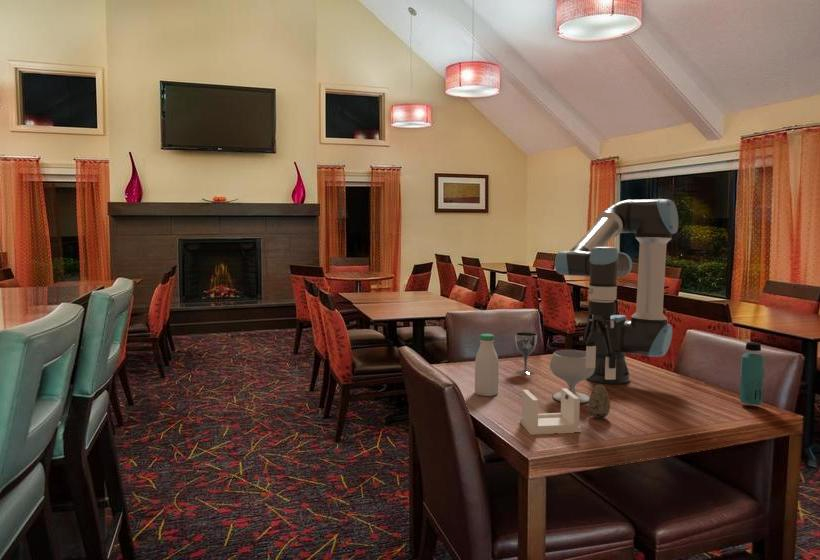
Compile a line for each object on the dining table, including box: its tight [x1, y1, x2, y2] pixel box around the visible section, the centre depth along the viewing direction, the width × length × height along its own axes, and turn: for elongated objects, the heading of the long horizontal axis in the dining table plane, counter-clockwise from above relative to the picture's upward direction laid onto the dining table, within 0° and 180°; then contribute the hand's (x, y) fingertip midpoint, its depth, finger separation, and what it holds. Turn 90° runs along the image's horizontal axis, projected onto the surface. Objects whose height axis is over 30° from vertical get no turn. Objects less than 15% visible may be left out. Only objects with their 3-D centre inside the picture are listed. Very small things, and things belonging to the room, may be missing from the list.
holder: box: [519, 387, 582, 436], centre depth 166 cm, size 14×10×10 cm
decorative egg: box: [588, 383, 611, 419], centre depth 174 cm, size 6×6×10 cm
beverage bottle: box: [738, 341, 765, 406], centre depth 183 cm, size 6×7×20 cm
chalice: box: [549, 349, 595, 404], centre depth 192 cm, size 14×14×15 cm
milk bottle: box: [474, 333, 499, 397], centre depth 198 cm, size 8×8×20 cm
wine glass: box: [514, 331, 538, 376], centre depth 225 cm, size 8×8×15 cm
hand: (599, 373), depth 173 cm, fingers open, 13 cm apart
